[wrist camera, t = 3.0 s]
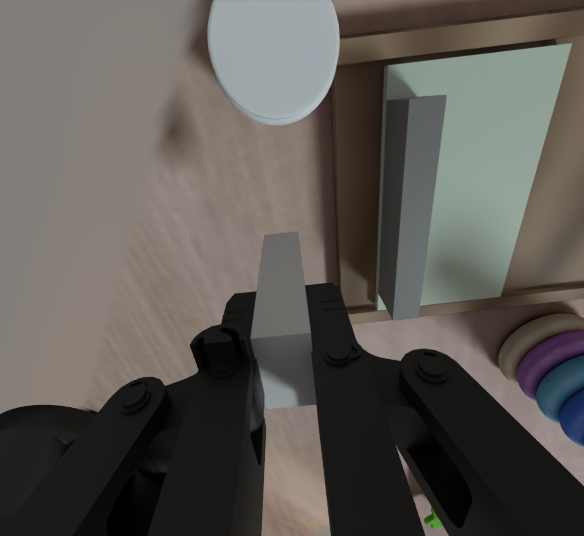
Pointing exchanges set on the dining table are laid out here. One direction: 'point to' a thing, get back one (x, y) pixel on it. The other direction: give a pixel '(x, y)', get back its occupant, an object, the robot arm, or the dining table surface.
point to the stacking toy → (550, 368)
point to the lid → (458, 172)
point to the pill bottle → (274, 55)
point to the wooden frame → (546, 185)
